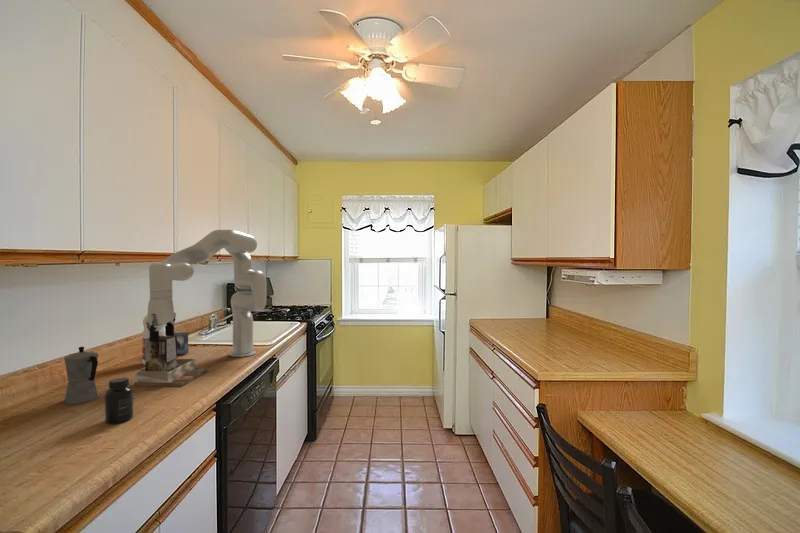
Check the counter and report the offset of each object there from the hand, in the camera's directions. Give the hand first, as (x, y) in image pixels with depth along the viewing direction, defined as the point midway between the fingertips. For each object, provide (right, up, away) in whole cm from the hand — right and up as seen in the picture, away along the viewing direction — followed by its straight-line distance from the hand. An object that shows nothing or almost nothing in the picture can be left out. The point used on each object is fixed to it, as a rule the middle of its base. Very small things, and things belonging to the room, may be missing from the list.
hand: (162, 338), depth 150 cm
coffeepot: (-14, -17, -21) cm, 30 cm away
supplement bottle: (+9, -18, -36) cm, 41 cm away
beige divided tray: (+2, -17, +4) cm, 17 cm away
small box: (-19, -16, +41) cm, 48 cm away
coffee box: (0, -16, 0) cm, 16 cm away
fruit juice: (-19, -16, +25) cm, 36 cm away
